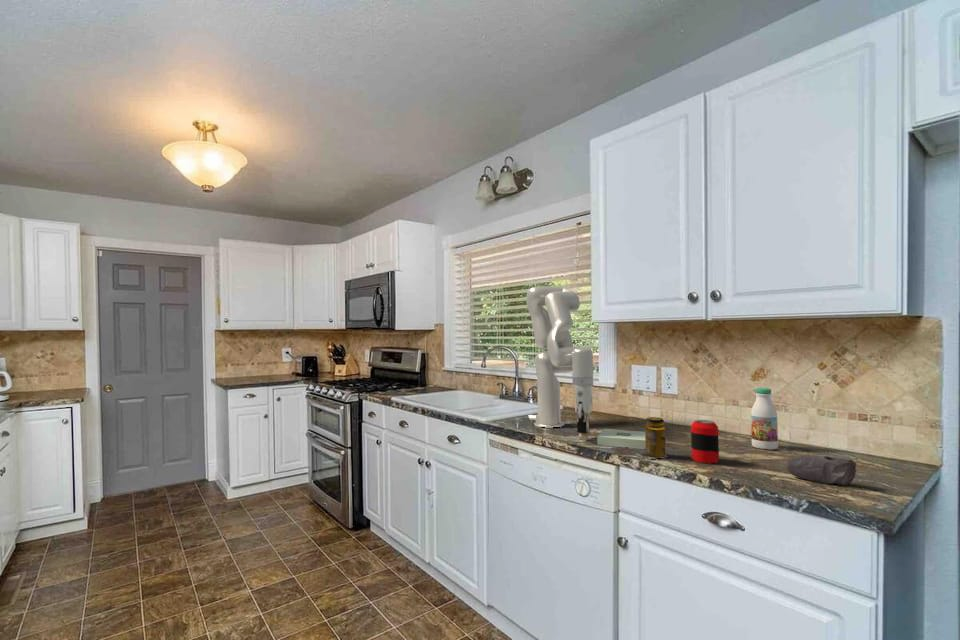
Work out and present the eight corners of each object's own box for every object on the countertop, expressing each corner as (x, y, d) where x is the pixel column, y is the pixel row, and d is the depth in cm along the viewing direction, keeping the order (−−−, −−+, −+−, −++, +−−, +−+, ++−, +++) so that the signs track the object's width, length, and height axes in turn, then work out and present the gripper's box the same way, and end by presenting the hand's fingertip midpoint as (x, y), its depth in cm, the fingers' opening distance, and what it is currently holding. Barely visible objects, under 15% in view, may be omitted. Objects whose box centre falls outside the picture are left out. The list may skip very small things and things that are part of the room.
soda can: (686, 459, 147) (685, 420, 147) (704, 456, 149) (703, 418, 150) (705, 465, 140) (704, 424, 140) (724, 462, 142) (723, 422, 143)
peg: (577, 440, 172) (577, 413, 173) (579, 438, 176) (579, 411, 176) (588, 441, 171) (587, 414, 171) (590, 439, 174) (589, 412, 175)
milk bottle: (751, 443, 165) (750, 386, 165) (777, 446, 161) (776, 387, 161) (751, 448, 158) (749, 389, 159) (778, 451, 154) (777, 390, 155)
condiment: (671, 457, 149) (671, 419, 149) (652, 460, 145) (651, 421, 146) (654, 452, 156) (653, 415, 156) (634, 455, 152) (634, 417, 152)
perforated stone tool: (784, 478, 127) (783, 452, 127) (788, 474, 131) (787, 448, 131) (855, 490, 117) (854, 462, 117) (857, 485, 120) (856, 458, 121)
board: (597, 445, 166) (597, 436, 166) (604, 436, 178) (603, 428, 178) (645, 449, 159) (645, 440, 159) (648, 440, 172) (648, 432, 172)
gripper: (588, 384, 165) (589, 436, 164) (597, 379, 180) (598, 427, 180) (567, 383, 168) (568, 435, 167) (577, 379, 183) (578, 425, 183)
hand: (583, 430), depth 174 cm, fingers open, 5 cm apart
